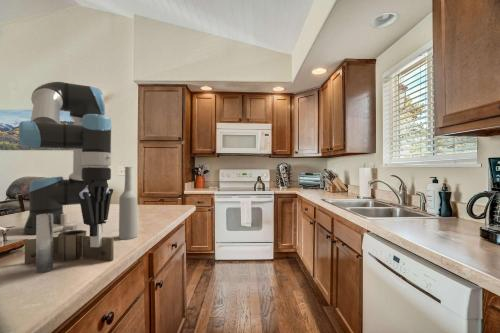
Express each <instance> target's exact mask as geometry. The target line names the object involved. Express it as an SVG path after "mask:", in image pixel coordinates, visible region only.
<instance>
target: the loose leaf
mask: <svg viewBox="0 0 500 333" xmlns="http://www.w3.org/2000/svg"><path fill="white" fill-rule="evenodd" d="M114 243H115V242H114V237H109V236H106V237H105V236H102V246H100V247H90V235H86V236H83V258H82V259H88V260H89V259H92V260H102V261H103V260H104V261H114V248H115V247H114Z"/></svg>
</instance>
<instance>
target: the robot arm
mask: <svg viewBox="0 0 500 333" xmlns="http://www.w3.org/2000/svg"><path fill="white" fill-rule="evenodd" d="M30 99H31V103H32V105H33V107H32V110H31V112H32V113H31V117H30V120H22V121H20V122H19V124H18V125H19V126H18V139H19V140H18V141H19V144H20V145H21V146H22V147H27V148H28V147H29V148H35V149H38V148H39V149H40V148H46V149H47V148H48V149H49V148H50V149H51V148H52V149H53V148H54V149H72V150H73V155H72V158H73V160H72V162H73V163H72V173H70V174H69V175H68V179H64V177H63V176H53V177H45V178H37V179H33V180H31V181H30V182H29V190H28V192H29V201H28V202H29V206H28V207H29V211H28V212H29V213H28V214H29V215H28V216H27V219H26V222H25V225H24V227H23V234H24V235H36V215H39V214H53V224H54V225H61V214H65V213H64V210H63V209H64V208H63V207H64V206H70V205H71V206H72V205H79V206H80V209H81V216H82V222H83V224H84V225H86V226H89V236H90V247H100V246H102V237H103V225H104V224H106V223H107V220H108V218H109V212H110V207H111V206H110V205H111V200H112V195H113V193H114V189H113V188H110V187H109V184H108V181H109V180H111V178H112V169H111V167H110V166H111V165H112V157H111V156H112V155H111V153H112V149H111V148H112V143H111V142H112V129H113V127H112V120H111V117H109V116H108V115H105V114H106V104H105V98H104V93H103V90H102V89H100V88H98V87H94V86H91V85H84V84H76V83H68V82H64V81H51V82H47V83H44V84H41V85H39V86H38V87H36V88H35V89H34V90H33V92H32V93H31V98H30ZM60 111H64V112H69V117H70V118H71V119H72V120H73V124H68V123H67V124H65V123H60V122H61V121H60V120H61V117H60V116H61V113H60Z"/></svg>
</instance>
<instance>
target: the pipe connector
mask: <svg viewBox="0 0 500 333" xmlns="http://www.w3.org/2000/svg"><path fill="white" fill-rule="evenodd" d="M67 214H68V213H64V214H61V225H54V224H53V234H54V233H57V232H60V233H62V232H67V231H74V230H78V229H77V228H78V223H77V222H71V223H68V222H67V220H68V216H67Z"/></svg>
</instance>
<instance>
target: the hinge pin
mask: <svg viewBox="0 0 500 333" xmlns="http://www.w3.org/2000/svg"><path fill="white" fill-rule="evenodd" d="M35 237H36V238H35V239H36V262H35V268H36V269H35V272H36V273H37V274H43V273H48V272H52V270H54V260H53V237H54V233H53V214H39V215H36V234H35Z"/></svg>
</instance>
